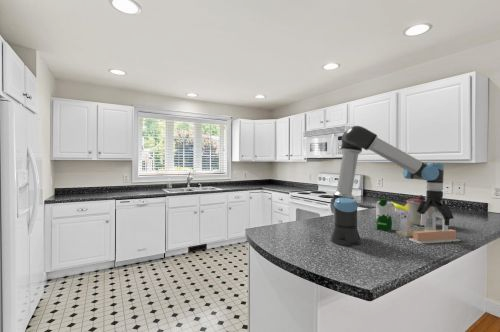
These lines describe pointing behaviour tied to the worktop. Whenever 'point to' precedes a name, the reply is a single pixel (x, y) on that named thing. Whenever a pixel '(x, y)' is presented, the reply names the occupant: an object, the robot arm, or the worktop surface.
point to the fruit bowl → (401, 208)
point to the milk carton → (384, 215)
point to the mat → (434, 241)
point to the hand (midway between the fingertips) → (433, 228)
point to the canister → (412, 210)
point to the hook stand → (406, 224)
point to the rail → (434, 235)
